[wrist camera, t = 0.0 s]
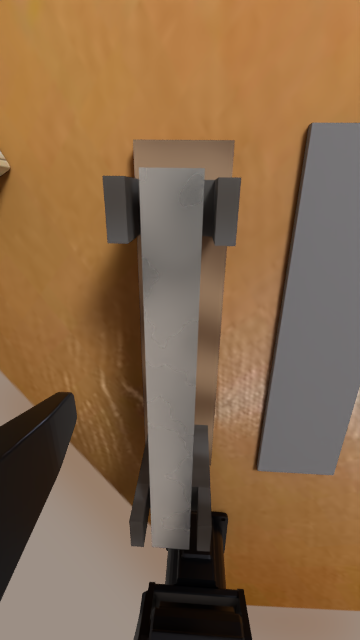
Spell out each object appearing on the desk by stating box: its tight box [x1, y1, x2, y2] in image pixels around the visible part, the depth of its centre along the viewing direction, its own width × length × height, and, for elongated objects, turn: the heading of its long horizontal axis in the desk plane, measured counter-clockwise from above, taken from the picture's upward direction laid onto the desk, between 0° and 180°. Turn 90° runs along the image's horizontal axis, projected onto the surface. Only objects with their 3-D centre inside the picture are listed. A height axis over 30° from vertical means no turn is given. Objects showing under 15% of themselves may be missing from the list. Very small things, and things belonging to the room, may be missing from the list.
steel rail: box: [139, 167, 205, 550], centre depth 16 cm, size 22×2×2 cm, turn 179°
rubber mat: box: [257, 123, 360, 475], centre depth 23 cm, size 28×7×1 cm, turn 179°
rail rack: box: [103, 140, 241, 552], centre depth 20 cm, size 26×6×10 cm, turn 179°
